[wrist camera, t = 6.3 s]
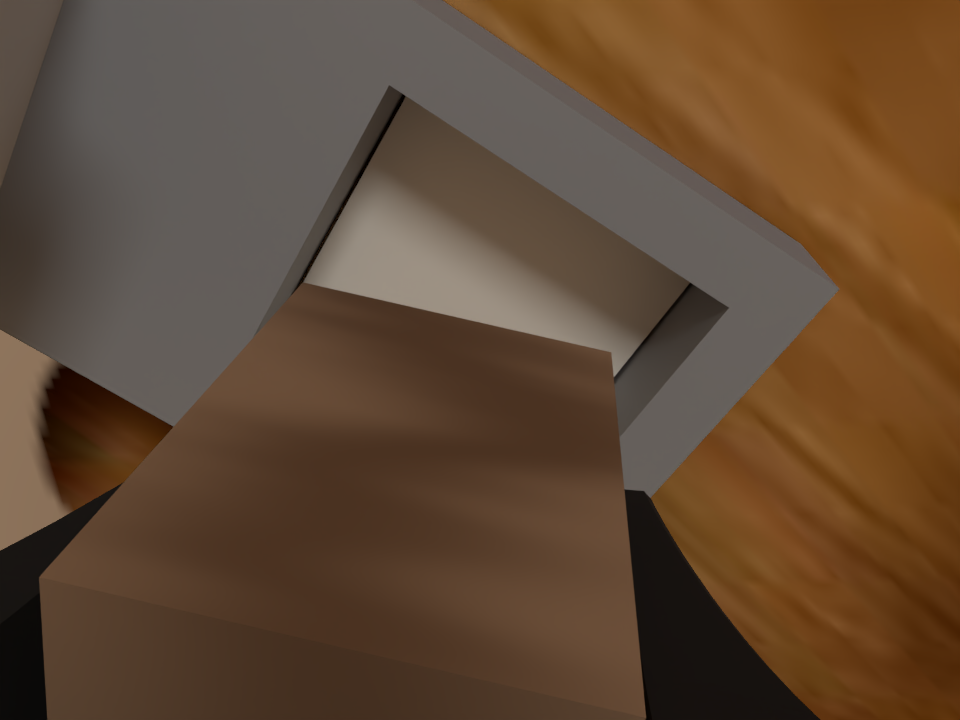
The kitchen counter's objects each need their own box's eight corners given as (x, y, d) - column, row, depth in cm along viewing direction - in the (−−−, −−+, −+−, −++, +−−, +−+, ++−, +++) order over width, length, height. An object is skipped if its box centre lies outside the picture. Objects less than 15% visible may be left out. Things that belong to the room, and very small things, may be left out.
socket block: (801, 244, 19) (1010, 491, 10) (537, 552, 23) (513, 915, 14) (111, -225, 16) (-471, -482, 7) (-33, 223, 21) (-501, 410, 12)
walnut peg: (611, 352, 13) (646, 718, 6) (539, 590, 15) (513, 1037, 9) (302, 282, 13) (39, 577, 6) (276, 529, 15) (60, 929, 9)
